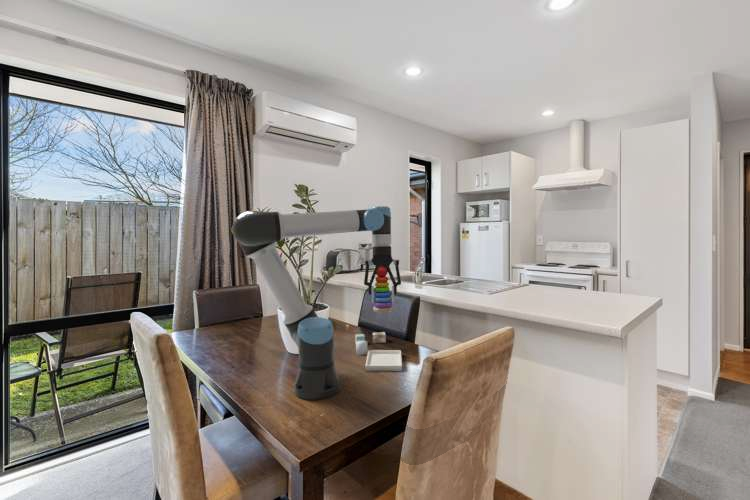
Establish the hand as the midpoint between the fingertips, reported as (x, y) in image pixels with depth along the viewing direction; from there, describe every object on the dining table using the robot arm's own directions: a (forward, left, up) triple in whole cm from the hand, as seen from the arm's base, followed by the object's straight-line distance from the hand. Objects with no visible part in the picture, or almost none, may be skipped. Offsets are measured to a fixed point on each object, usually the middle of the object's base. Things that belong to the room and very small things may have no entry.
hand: (382, 302), depth 142 cm
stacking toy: (0, 0, -4) cm, 4 cm away
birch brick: (-3, +28, -25) cm, 37 cm away
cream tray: (0, 0, -25) cm, 25 cm away
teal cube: (-12, +25, -25) cm, 37 cm away
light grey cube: (-10, +11, -25) cm, 29 cm away
